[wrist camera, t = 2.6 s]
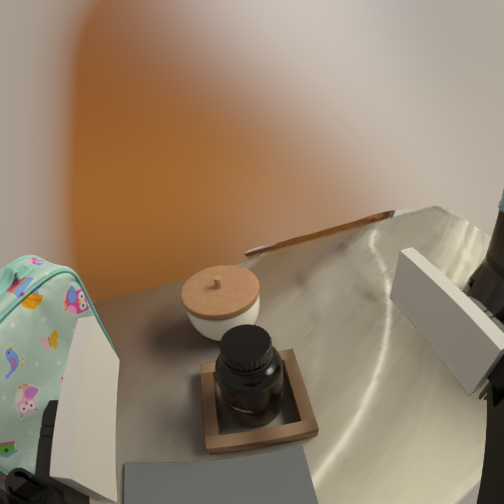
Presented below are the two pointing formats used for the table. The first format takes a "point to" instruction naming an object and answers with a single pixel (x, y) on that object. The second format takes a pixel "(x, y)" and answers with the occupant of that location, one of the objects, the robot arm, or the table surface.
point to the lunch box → (34, 349)
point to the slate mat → (223, 480)
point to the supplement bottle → (250, 375)
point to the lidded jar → (221, 299)
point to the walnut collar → (262, 436)
